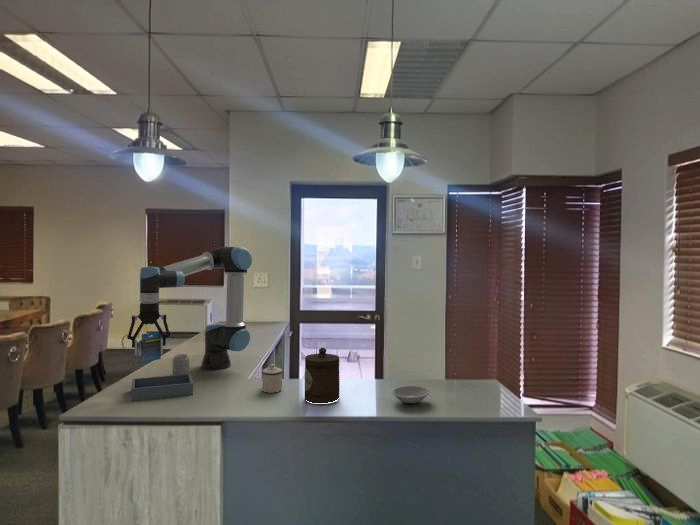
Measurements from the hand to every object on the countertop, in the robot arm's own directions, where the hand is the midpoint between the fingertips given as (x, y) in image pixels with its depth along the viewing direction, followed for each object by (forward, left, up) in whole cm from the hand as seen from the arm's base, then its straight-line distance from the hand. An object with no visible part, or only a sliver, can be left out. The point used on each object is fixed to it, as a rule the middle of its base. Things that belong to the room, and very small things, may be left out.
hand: (148, 354), depth 188 cm
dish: (-100, +52, -17) cm, 114 cm away
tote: (-6, 0, -17) cm, 18 cm away
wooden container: (-67, +34, -17) cm, 77 cm away
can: (-14, -17, -17) cm, 28 cm away
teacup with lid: (-50, +13, -17) cm, 55 cm away
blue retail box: (0, 0, -3) cm, 3 cm away
